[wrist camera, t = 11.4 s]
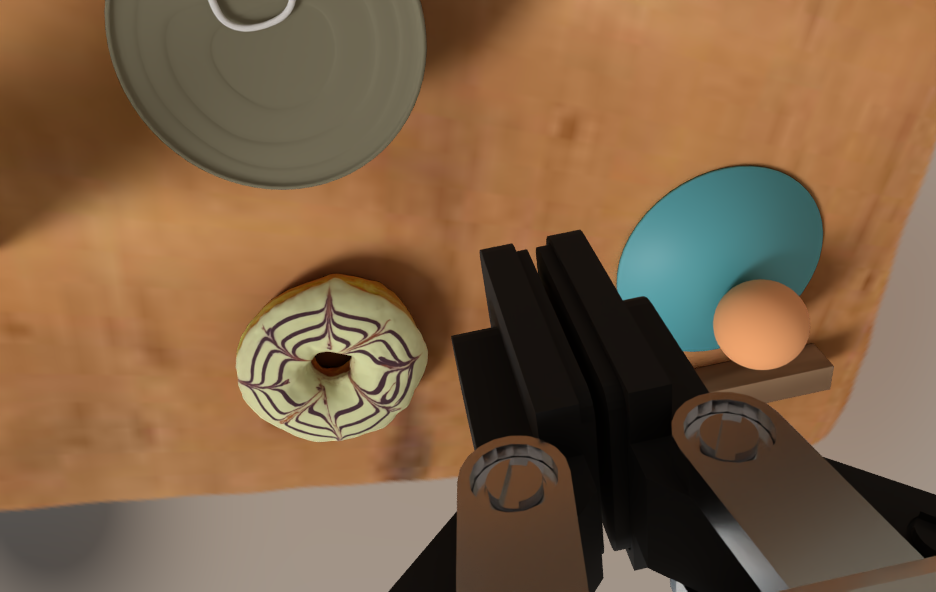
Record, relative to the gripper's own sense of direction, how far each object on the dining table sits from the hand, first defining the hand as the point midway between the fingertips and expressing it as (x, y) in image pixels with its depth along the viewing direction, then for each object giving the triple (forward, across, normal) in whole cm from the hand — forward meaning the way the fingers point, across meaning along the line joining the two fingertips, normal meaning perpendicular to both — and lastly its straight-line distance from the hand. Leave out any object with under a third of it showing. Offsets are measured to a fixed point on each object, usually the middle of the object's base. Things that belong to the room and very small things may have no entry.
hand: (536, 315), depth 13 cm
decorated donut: (+28, +8, +19) cm, 34 cm away
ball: (+24, -18, +22) cm, 37 cm away
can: (+27, +6, 0) cm, 28 cm away
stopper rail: (+27, -16, +28) cm, 42 cm away
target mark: (+27, -16, +19) cm, 37 cm away
